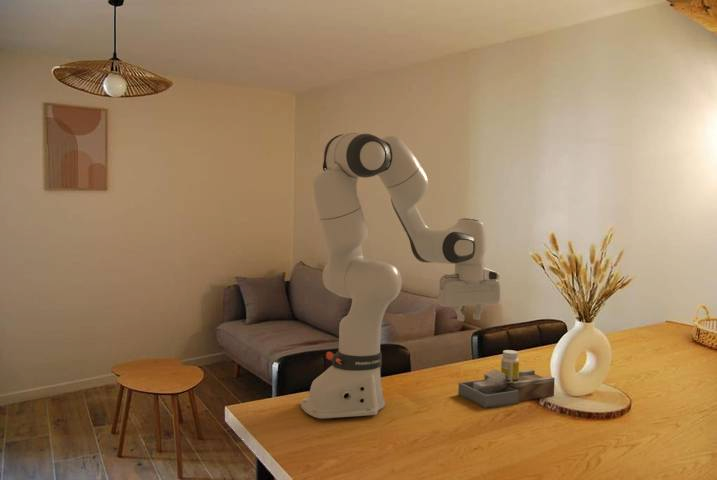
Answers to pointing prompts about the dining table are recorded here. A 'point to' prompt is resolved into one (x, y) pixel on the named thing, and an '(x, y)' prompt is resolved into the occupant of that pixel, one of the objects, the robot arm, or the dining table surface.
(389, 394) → the dining table surface
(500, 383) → the grey small cube
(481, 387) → the beige cube
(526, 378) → the channel block
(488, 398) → the bin
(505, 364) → the supplement bottle
